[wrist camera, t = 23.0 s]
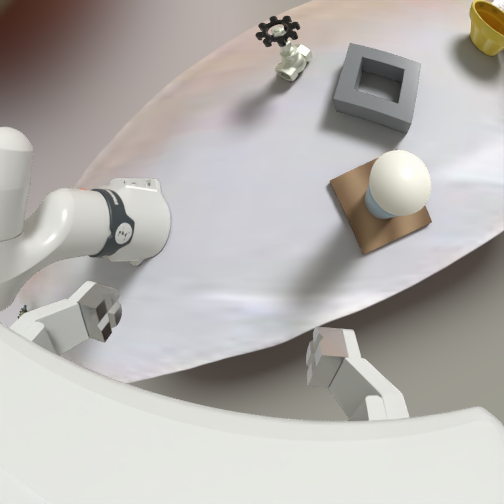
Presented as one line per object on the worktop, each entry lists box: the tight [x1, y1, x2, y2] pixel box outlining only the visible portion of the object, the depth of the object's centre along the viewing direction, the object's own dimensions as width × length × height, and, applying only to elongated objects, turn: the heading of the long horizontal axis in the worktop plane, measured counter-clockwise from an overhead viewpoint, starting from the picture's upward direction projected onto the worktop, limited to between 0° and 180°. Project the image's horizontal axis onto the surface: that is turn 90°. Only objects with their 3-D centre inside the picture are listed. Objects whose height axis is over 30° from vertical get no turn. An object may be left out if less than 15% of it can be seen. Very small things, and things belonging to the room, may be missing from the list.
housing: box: [333, 43, 421, 134], centre depth 33 cm, size 12×12×4 cm
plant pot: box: [469, 0, 504, 56], centre depth 20 cm, size 10×10×10 cm
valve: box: [256, 16, 312, 81], centre depth 34 cm, size 7×7×12 cm
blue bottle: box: [365, 150, 431, 219], centre depth 28 cm, size 6×6×17 cm
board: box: [330, 149, 432, 254], centre depth 37 cm, size 12×12×1 cm
